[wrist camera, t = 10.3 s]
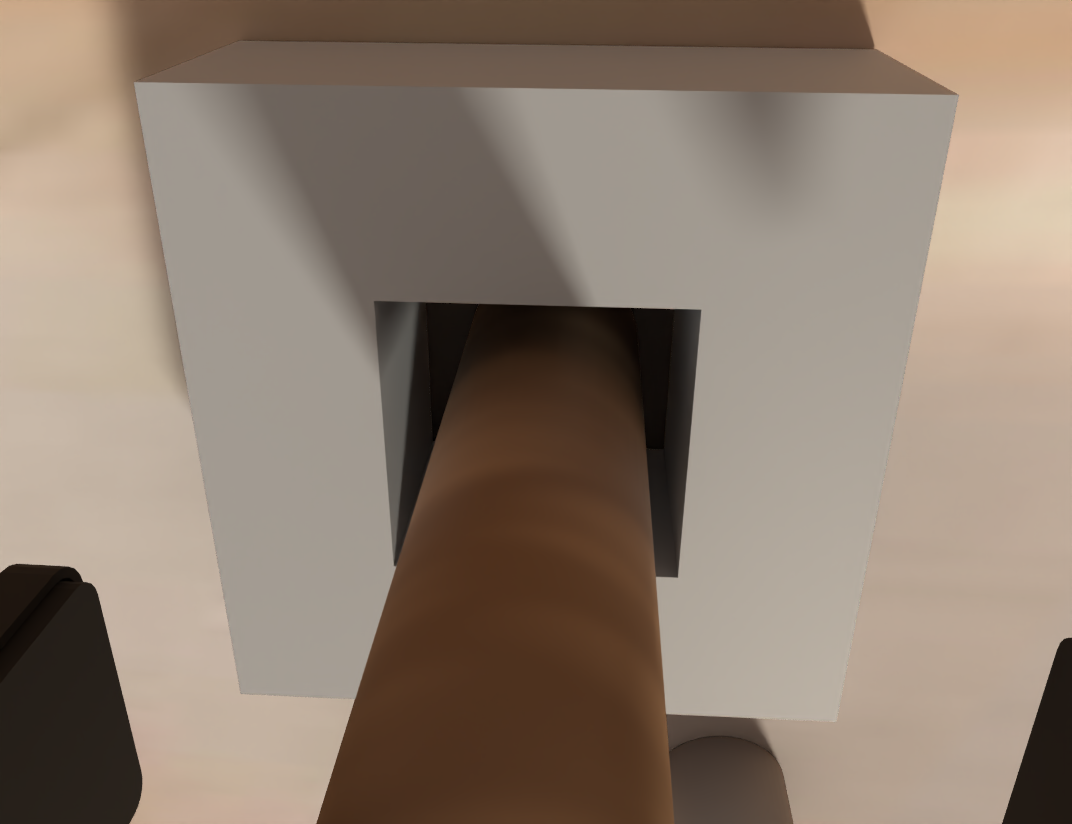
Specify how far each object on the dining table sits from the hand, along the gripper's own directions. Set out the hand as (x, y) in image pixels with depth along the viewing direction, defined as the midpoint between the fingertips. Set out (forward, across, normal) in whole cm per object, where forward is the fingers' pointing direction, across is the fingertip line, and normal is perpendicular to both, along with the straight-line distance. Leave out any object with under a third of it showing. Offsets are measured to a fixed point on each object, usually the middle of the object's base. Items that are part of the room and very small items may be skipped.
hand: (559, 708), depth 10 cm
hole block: (+9, +1, 0) cm, 9 cm away
